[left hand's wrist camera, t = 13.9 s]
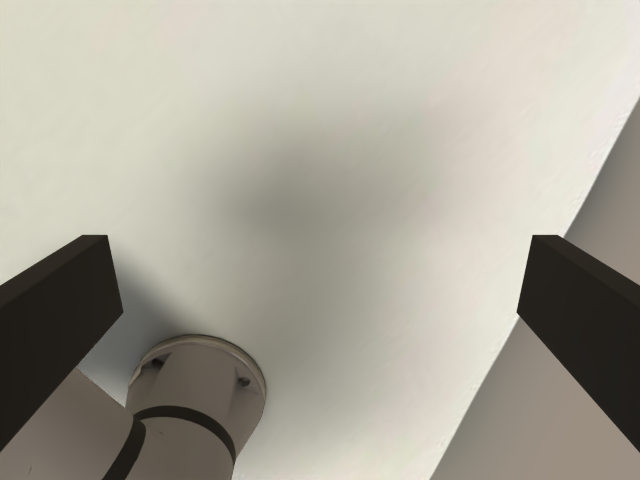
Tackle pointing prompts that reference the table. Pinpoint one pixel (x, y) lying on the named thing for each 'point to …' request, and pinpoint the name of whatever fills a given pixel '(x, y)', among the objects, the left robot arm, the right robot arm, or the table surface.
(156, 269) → the table surface
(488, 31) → the table surface
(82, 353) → the left robot arm
